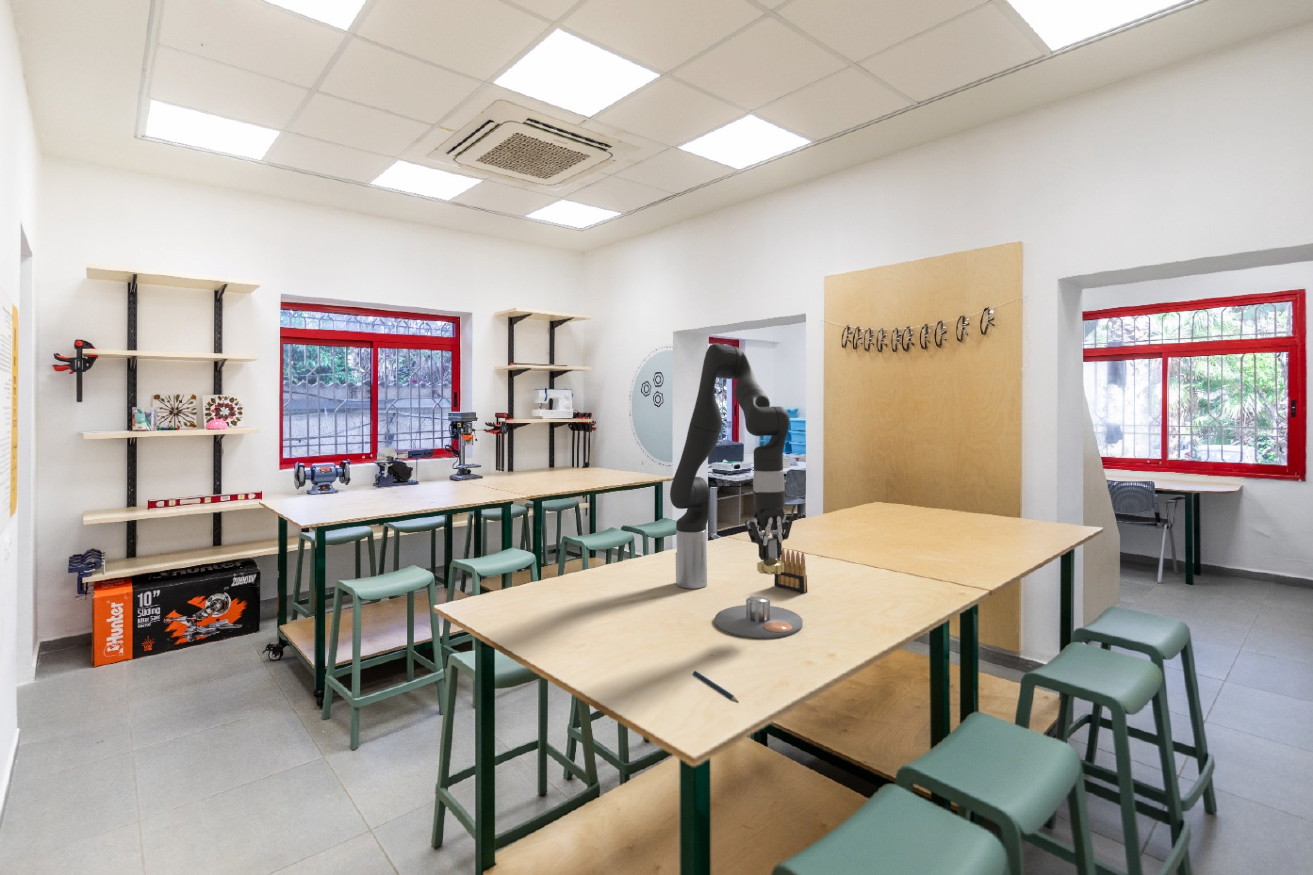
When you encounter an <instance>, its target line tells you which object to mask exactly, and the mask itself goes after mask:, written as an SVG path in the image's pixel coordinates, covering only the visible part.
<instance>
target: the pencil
mask: <svg viewBox="0 0 1313 875" xmlns="http://www.w3.org/2000/svg"><path fill="white" fill-rule="evenodd" d="M692 675H693V676H695V677H697V678H698V679H699V678H700V679H699V680H701V681H703V682H704V683H705V682H706V684H707V685H709V686H710V687H712V688H713V689H714V690H716V691H717V692H719V693H720V694H722V695H724V696H726V697H727V698H729V699H730V700H732V701H733V702H737V703H740V702H739V700H738V699H737V697H736V696H735V695H734V694H732V693H731V692H729V691H727V690H726V689H725V688H723V687H721V686H719V685H718V684H717V683H715V682H714V681H712V680H710V679H709V678H708V677H706V676H704V675H703V674H701V673H700V672H698V671H697V670H695V671H693V672H692Z"/></svg>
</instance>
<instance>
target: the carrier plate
mask: <svg viewBox="0 0 1313 875" xmlns="http://www.w3.org/2000/svg"><path fill="white" fill-rule="evenodd" d="M714 624H715V626H716V627H717V628H718V629H719V630H721V631H722V632H725V633H726V634H729V635H732V636H736V637H741V638H742V637H743V638H748V639H757V640H758V639H759V640H760V639H761V640H762V639H763V640H765V639H766V640H769V639H772V640H773V639H780V638H785V637H788V636H789V637H790V636H792V635H795V634H797V633H799V632H800V631H801V630H802V628H803V627H804V626H803V618H802V617H801V615H800V614H798V613H796V612H794V611H792V610H790V609H787V608H784V607H780V606H774V605H771V599H769V597H768V596H762V595H757V596H756V595H755V596H753V595H751V596H749V597H746V599H745V604H743V605H736V606H731V607H728V608H727V607H726V608H724V609H722V610H720V611H718V612H717V613H716V614H715V617H714Z"/></svg>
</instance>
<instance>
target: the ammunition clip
mask: <svg viewBox="0 0 1313 875" xmlns="http://www.w3.org/2000/svg"><path fill="white" fill-rule="evenodd" d="M785 551H786V552H785ZM778 561H781V562H782V563H784V572H781V574H774V583H773V584H774V585H773V586H775V588H779V589H783V590H787V591H792V592H794V591H795V593H798V594H799V593H800V594H807V593H808V578H807V577H808V576H807V568H806V557H805V553H804V552H803V551H802V552H801V555H800V552H799V551H797V552H796V554H795V551H794V550H792V551H791V553H790V550H789V549H787V550H785V549H784V548H782V554H781V557H780V558H778Z"/></svg>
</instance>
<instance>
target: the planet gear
mask: <svg viewBox="0 0 1313 875" xmlns="http://www.w3.org/2000/svg"><path fill="white" fill-rule="evenodd" d="M767 546H768V560H767V561H764V560H760V562H757V563H756V564H757V565H756V567H757V568H756V569H757V572H758V573H759V574H766V575H770V576H771V575H775V574H781V572H784V563H782V562H781V561H778V558H777V538H772V536H771V537H770V536H768V541H767Z"/></svg>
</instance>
